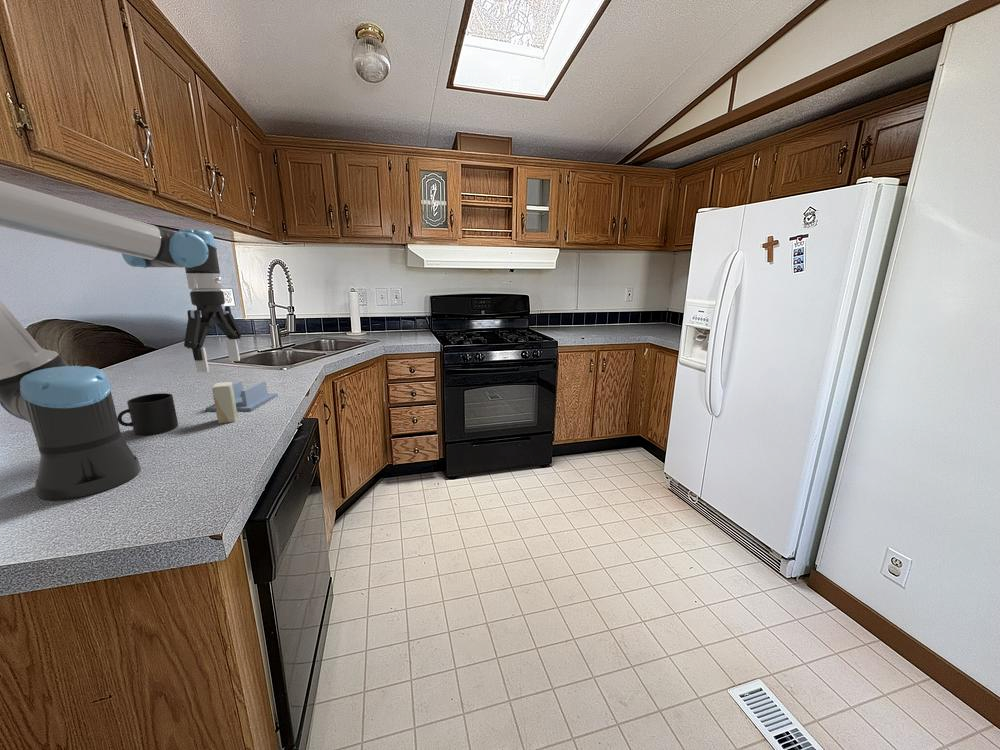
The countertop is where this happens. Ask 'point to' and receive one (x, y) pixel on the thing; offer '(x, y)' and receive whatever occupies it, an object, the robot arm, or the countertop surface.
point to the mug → (151, 414)
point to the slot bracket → (249, 396)
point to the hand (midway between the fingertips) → (220, 366)
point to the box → (225, 402)
